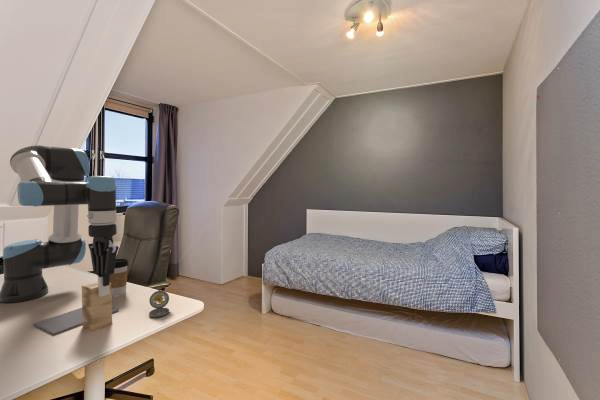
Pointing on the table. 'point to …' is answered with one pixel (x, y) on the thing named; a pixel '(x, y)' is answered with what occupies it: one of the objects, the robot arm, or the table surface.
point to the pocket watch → (159, 307)
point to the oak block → (95, 307)
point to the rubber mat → (63, 321)
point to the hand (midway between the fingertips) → (104, 294)
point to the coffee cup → (119, 277)
